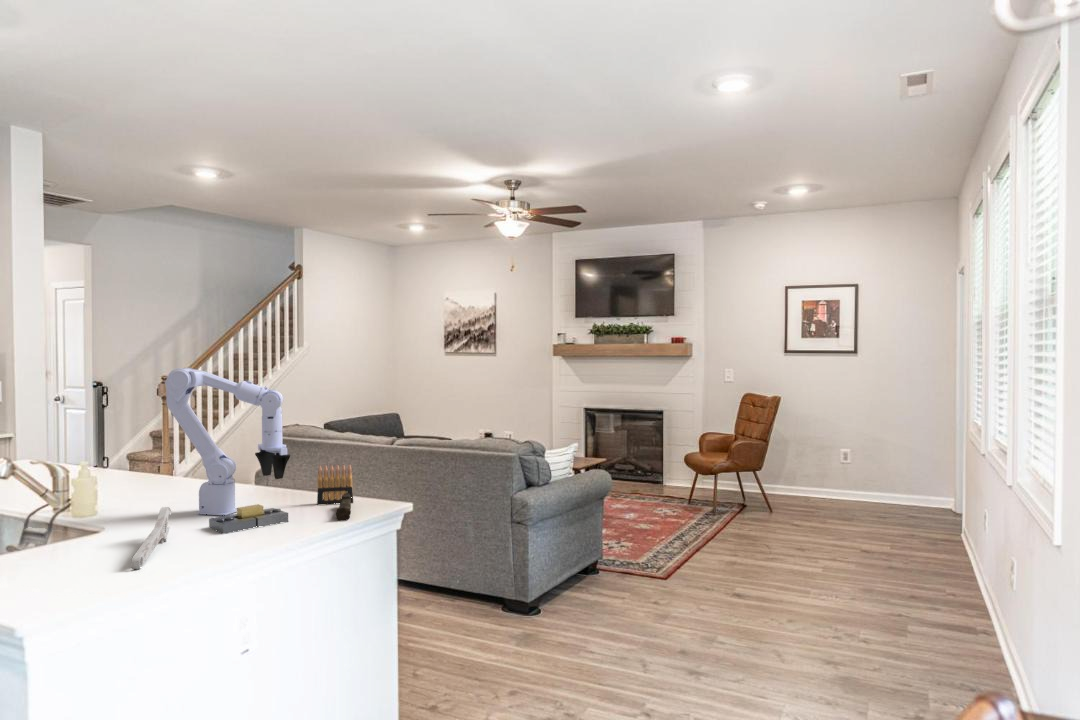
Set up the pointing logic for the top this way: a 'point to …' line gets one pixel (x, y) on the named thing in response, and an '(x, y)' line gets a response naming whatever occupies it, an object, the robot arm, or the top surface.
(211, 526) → the chain ends
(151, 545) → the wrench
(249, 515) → the brass rectangular block
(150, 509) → the top surface
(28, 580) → the top surface
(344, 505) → the dark brown elongated piece
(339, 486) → the ammunition clip
